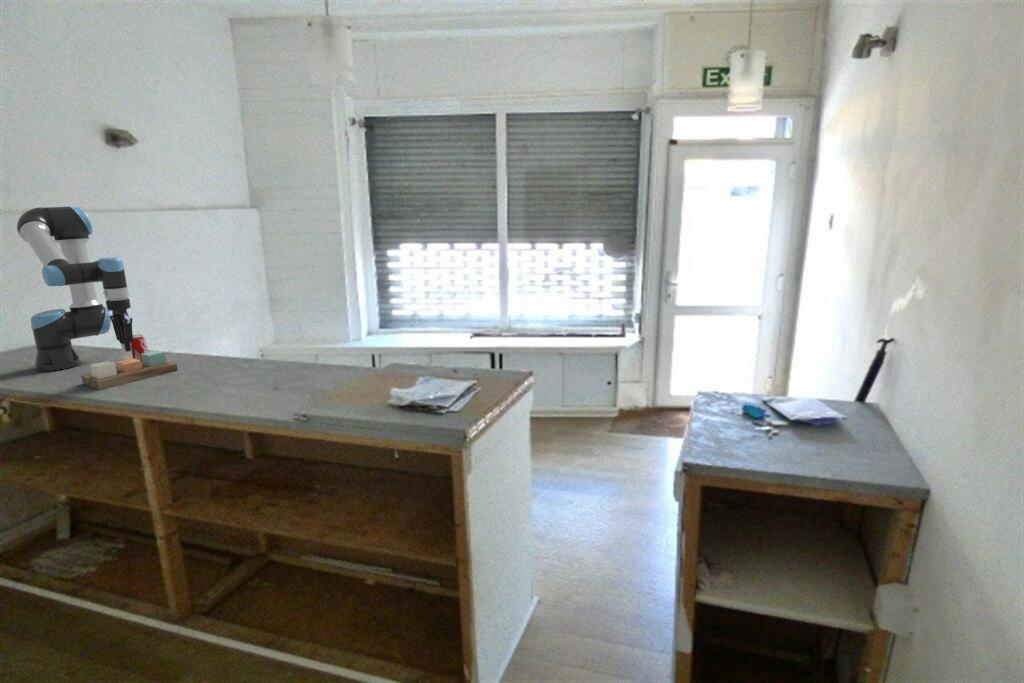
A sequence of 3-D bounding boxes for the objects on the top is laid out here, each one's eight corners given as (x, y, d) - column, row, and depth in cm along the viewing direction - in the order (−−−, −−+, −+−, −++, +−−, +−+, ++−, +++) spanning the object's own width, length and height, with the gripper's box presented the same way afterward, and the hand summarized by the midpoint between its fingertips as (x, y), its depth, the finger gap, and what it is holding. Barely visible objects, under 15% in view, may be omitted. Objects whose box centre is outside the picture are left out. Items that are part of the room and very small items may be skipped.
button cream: (92, 378, 220) (89, 364, 219) (110, 374, 225) (107, 360, 223) (99, 381, 217) (96, 367, 215) (117, 377, 221) (114, 363, 220)
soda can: (143, 366, 243) (138, 337, 240) (126, 366, 243) (121, 338, 240) (153, 361, 250) (148, 333, 247) (137, 361, 250) (132, 334, 247)
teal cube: (143, 367, 234) (141, 353, 233) (159, 363, 239) (156, 350, 238) (151, 369, 231) (148, 355, 230) (166, 365, 236) (164, 352, 235)
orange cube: (119, 375, 227) (116, 362, 226) (136, 371, 232) (133, 358, 231) (126, 378, 224) (124, 364, 223) (143, 374, 229) (141, 360, 228)
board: (83, 383, 221) (81, 376, 220) (160, 365, 243) (158, 358, 243) (99, 389, 213) (98, 381, 213) (177, 370, 236) (176, 363, 235)
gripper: (98, 298, 221) (109, 358, 227) (114, 302, 214) (125, 363, 220) (120, 295, 227) (130, 354, 233) (136, 298, 220) (146, 359, 226)
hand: (128, 358), depth 227 cm, fingers closed
